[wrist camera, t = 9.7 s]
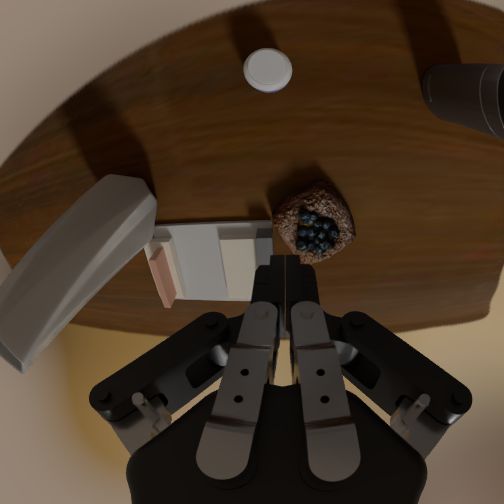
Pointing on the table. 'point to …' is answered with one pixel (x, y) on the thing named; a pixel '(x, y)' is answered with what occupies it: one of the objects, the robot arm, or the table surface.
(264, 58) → the pill bottle
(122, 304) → the table surface
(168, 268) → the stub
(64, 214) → the vase
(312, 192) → the pastry
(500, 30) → the table surface
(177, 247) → the white tray
